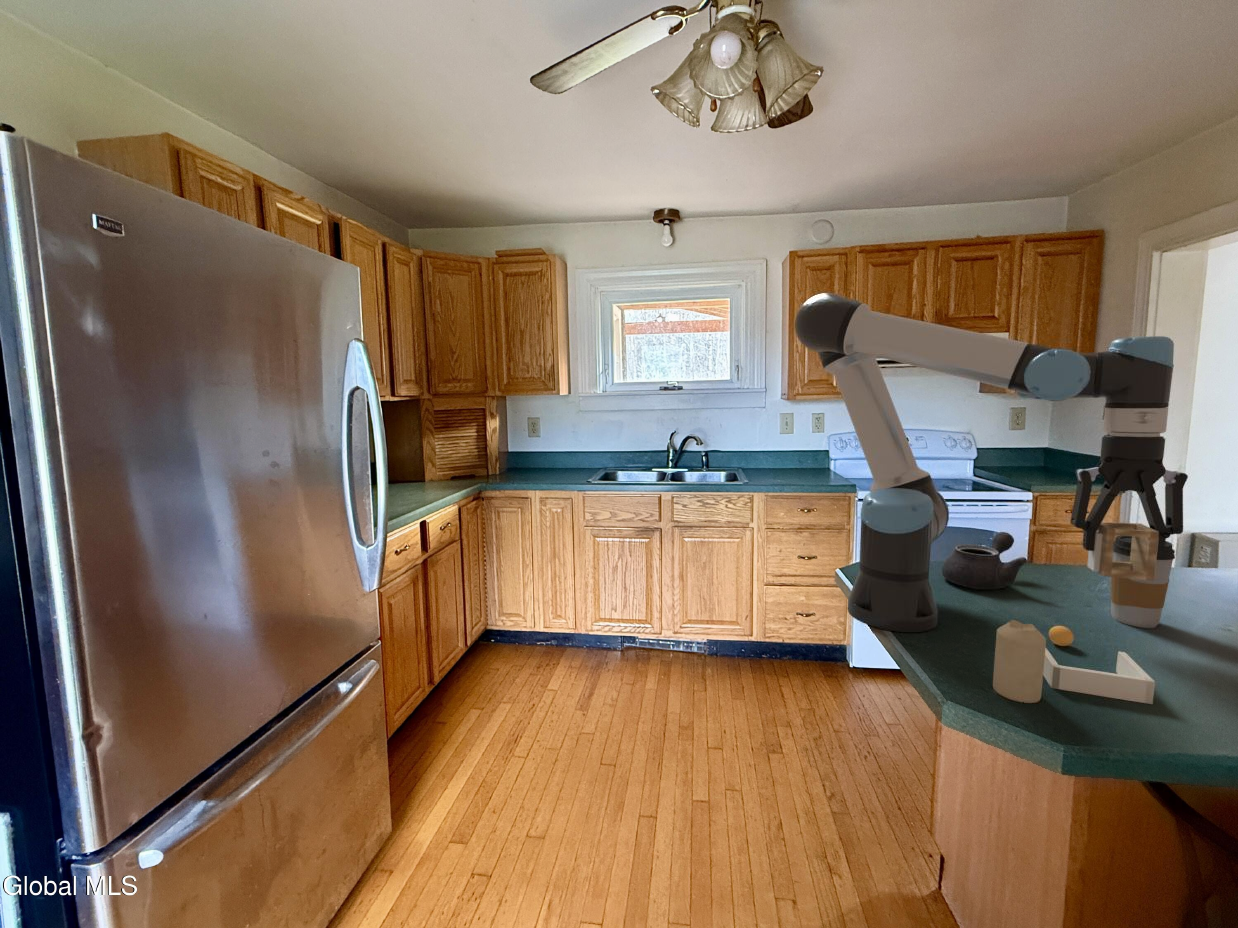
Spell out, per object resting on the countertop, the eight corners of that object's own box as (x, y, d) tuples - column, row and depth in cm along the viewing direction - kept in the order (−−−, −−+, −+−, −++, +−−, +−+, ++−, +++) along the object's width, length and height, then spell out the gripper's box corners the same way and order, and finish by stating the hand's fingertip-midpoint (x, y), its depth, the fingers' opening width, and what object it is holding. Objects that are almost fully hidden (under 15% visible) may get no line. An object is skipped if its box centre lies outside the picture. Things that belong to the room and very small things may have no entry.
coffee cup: (1179, 632, 94) (1190, 548, 92) (1123, 629, 96) (1132, 546, 94) (1144, 613, 102) (1153, 535, 100) (1093, 610, 104) (1100, 533, 102)
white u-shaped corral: (1051, 687, 78) (1053, 666, 77) (1033, 659, 86) (1034, 639, 85) (1152, 704, 73) (1155, 681, 73) (1122, 672, 81) (1125, 652, 81)
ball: (1051, 647, 90) (1053, 628, 89) (1045, 639, 92) (1046, 621, 92) (1075, 650, 88) (1077, 631, 88) (1068, 642, 91) (1070, 624, 91)
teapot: (1015, 602, 109) (1019, 553, 107) (932, 582, 120) (934, 538, 119) (1041, 580, 121) (1045, 536, 119) (963, 564, 132) (966, 524, 131)
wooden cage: (1103, 576, 90) (1107, 528, 89) (1089, 565, 95) (1093, 520, 94) (1153, 580, 87) (1158, 531, 86) (1136, 569, 93) (1141, 523, 92)
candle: (983, 683, 79) (988, 617, 78) (1018, 681, 79) (1024, 615, 78) (1013, 704, 74) (1019, 634, 72) (1051, 702, 74) (1058, 632, 73)
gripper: (1067, 435, 89) (1056, 571, 92) (1228, 436, 81) (1210, 585, 84) (1052, 432, 96) (1042, 559, 99) (1199, 433, 88) (1184, 570, 91)
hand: (1119, 571), depth 92 cm, fingers closed on wooden cage, 6 cm apart
